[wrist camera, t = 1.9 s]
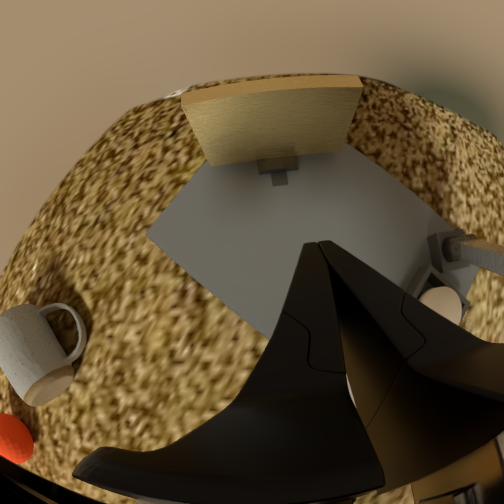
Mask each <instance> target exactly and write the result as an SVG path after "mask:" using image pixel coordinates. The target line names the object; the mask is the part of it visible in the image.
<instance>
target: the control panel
mask: <svg viewBox="0 0 504 504" xmlns="http://www.w3.org/2000/svg"><path fill="white" fill-rule="evenodd" d="M296 156H297V161H298V165H299V168H298V170H295V171H286V172H278V173H270V174H262V175H259V172H258V165H257V160H252V161H245V162H238V163H232V164H225V165H219V166H213V167H211V166H210V164H209V162H208V160H207V161H206V162H205V163H204V164H203V165H202V167H201V168H200V169H199V170H198V171H197V172H196V173H195V174H194V176H193V177H192V178H191V179H190V180H189V181H188V183H187V184H186V185H185V186H184V187H183V188H182V190H181V191H180V192H179V193H178V194H177V195H176V197H175V198H174V199H173V200H172V201H171V203H170V204H169V205H168V206H167V208H166V209H165V210H164V211H163V212H162V214H161V215H160V216H159V217H158V219H157V220H156V221H155V223H154V224H153V225H152V226H151V228H150V229H149V230H148V232H147V233H146V234H145V235H146V236H147V237H148V238H149V239H150V240H152V241H153V242H154V243H155V244H156V245H157V246H158V247H159V248H160V249H161V250H163V251H164V252H165V253H166V254H167V255H168V256H169V257H170V258H172V259H173V260H174V261H175V262H176V263H177V264H178V265H179V266H181V267H182V268H183V269H184V270H185V271H186V272H187V273H189V274H190V275H191V276H192V277H193V278H194V279H196V280H197V281H198V282H199V283H200V284H201V285H203V286H204V287H205V288H206V289H207V290H209V291H210V292H211V293H212V294H213V295H215V296H216V297H217V298H218V299H219V300H221V301H222V302H223V303H224V304H225V305H227V306H228V307H229V308H230V309H232V310H233V311H234V312H235V313H236V314H238V315H239V316H240V317H241V318H243V319H244V320H245V321H246V322H248V323H249V324H250V325H251V326H253V327H254V328H255V329H257V330H258V331H259V332H260V333H262V334H263V335H264V336H266V337H267V338H268V339H269V340H270V338H271V336H272V334H273V331H274V329H275V327H276V324H277V321H278V319H279V316H280V313H281V311H282V308H283V305H284V302H285V299H286V296H287V293H288V290H289V287H290V284H291V281H292V278H293V275H294V272H295V268H296V265H297V262H298V259H299V256H300V253H301V250H302V246H303V244H304V243H309V242H318V241H324V240H331V241H333V242H334V243H336V244H337V245H339V246H340V247H342V248H343V249H345V250H346V251H348V252H349V253H351V254H352V255H354V256H355V257H357V258H358V259H360V260H361V261H363V262H364V263H366V264H367V265H369V266H370V267H372V268H373V269H375V270H376V271H378V272H379V273H381V274H382V275H383V276H385V277H386V278H388V279H389V280H391V281H392V282H393V283H395V284H396V285H398V286H399V287H401V288H402V289H403V290H404V291H405V292H408V293H409V294H411V295H412V296H413V297H415V298H416V299H417V298H418V296H419V295H420V294H421V293H422V292H423V291H425V290H427V289H430V288H437V287H449V288H451V289H453V290H454V291H455V292H456V293H457V295H458V296H459V298H460V301H461V306H462V315H461V320H462V318H463V316H464V314H465V312H466V310H467V308H468V306H469V304H470V302H469V301H468V300H467V299H466V298H465V297H466V295H467V293H468V291H469V289H470V287H471V284H472V282H473V280H474V278H475V275H476V273H477V270H478V268H479V267H478V266H475V265H472V264H469V263H466V262H464V261H461V260H459V261H454V262H448V261H446V259H445V258H444V255H443V252H442V244H443V241H444V239H445V238H446V237H452V236H459V235H464V232H463V229H461V230H454V229H453V228H452V227H451V226H450V225H449V224H448V223H447V222H446V221H445V220H444V219H443V218H442V217H440V216H439V215H438V214H437V213H436V212H435V211H434V210H433V209H432V208H430V207H429V206H428V205H427V204H426V203H425V202H424V201H422V200H421V199H420V198H419V197H418V196H417V195H415V194H414V193H413V192H412V191H411V190H409V189H408V188H407V187H406V186H404V185H403V184H402V183H401V182H399V181H398V180H397V179H396V178H394V177H393V176H392V175H390V174H389V173H388V172H387V171H385V170H384V169H383V168H381V167H380V166H379V165H377V164H376V163H374V162H373V161H372V160H370V159H369V158H367V157H366V156H365V155H363V154H362V153H360V152H359V151H357V150H356V149H354V148H353V147H352V146H350V145H349V144H347V143H346V142H344V144H343V146H342V149H341V152H327V153H315V154H303V155H296ZM405 292H404V293H405ZM461 320H460V322H461ZM459 324H460V323H459ZM458 326H459V325H458Z"/></svg>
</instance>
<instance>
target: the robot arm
mask: <svg viewBox="0 0 504 504" xmlns="http://www.w3.org/2000/svg"><path fill="white" fill-rule="evenodd" d="M404 292H405V291H404V290H403V289H402V288H401V287H399V286H398V285H396V284H395V283H393V282H392V281H391V280H389V279H388V278H386V277H385V276H383V275H382V274H381V273H379V272H378V271H376V270H375V269H373V268H372V267H370V266H369V265H367V264H366V263H364V262H363V261H361V260H360V259H358V258H357V257H355V256H354V255H352V254H351V253H349V252H348V251H346V250H345V249H343V248H342V247H340V246H339V245H337V244H336V243H334V242H333V241H331V240H324V241H318V242H309V243H304V244H303V246H302V250H301V253H300V256H299V259H298V262H297V265H296V268H295V272H294V275H293V278H292V281H291V284H290V287H289V290H288V293H287V296H286V299H285V302H284V305H283V308H282V311H281V313H280V316H279V319H278V321H277V324H276V327H275V329H274V331H273V334H272V336H271V338H270V340H269V342H268V344H267V346H266V348H265V350H264V352H263V354H262V355H261V357H260V359H259V360H258V362H257V364H256V366H255V367H254V369H253V371H252V372H251V374H250V376H249V377H248V379H247V381H246V382H245V384H244V386H243V387H242V389H241V390H240V392H239V394H238V395H237V396H236V398H235V399H234V400H233V401H232V402H231V403H230V404H229V405H228V406H227V407H226V408H225V409H224V410H222V411H221V412H219V413H218V414H217V415H215V416H214V417H212V418H211V419H209V420H208V421H206V422H205V423H203V424H202V425H200V426H199V427H197V428H196V429H194V430H193V431H191V432H190V433H188V434H187V435H185V436H183V437H182V438H180V439H179V440H177V441H175V442H174V443H172V444H170V445H168V446H166V447H164V448H161V449H157V450H154V451H146V452H139V451H130V450H125V449H120V448H114V447H106V446H105V447H99V448H98V449H96V450H95V451H93V452H92V453H90V454H89V455H88V456H86V457H85V458H84V459H83V460H82V461H80V462H79V464H78V465H77V466H76V467H75V469H74V471H73V473H72V476H73V477H75V478H77V479H79V480H81V481H84V482H86V483H89V484H91V485H94V486H97V487H99V488H102V489H105V490H108V491H111V492H114V493H117V494H120V495H124V496H127V497H131V498H134V499H136V501H135V504H353V503H354V502H355V501H356V497H359V496H362V495H365V494H368V493H370V492H373V491H376V490H377V493H378V495H380V494H383V493H386V492H389V491H392V490H395V489H398V488H401V487H404V486H407V485H409V484H411V487H412V492H413V497H414V503H415V504H504V343H491V342H487V341H484V340H482V339H479V338H478V337H476V336H474V335H473V334H471V333H469V332H468V331H466V330H465V329H463V328H461V327H460V326H458V325H457V324H455V323H453V322H452V321H450V320H448V319H447V318H445V317H443V316H442V315H440V314H439V313H437V312H436V311H434V310H432V309H431V308H429V307H428V306H426V305H425V304H423V303H422V302H420V301H419V300H418V299H416V298H415V297H413V296H412V295H411V294H409V293H408V292H405V293H404ZM346 374H347V376H346ZM347 378H348V381H349V384H350V388H351V391H352V395H353V398H354V402H355V405H356V407H355V405H354V402H353V400H352V398H351V395H350V392H349V388H348V383H347ZM0 504H107V503H104V502H101V501H98V500H95V499H93V498H90V497H87V496H85V495H82V494H80V493H77V492H75V491H72V490H70V489H68V488H65V487H63V486H61V485H58V484H56V483H54V482H52V481H50V480H47V479H45V478H43V477H41V476H39V475H37V474H35V473H33V472H31V471H29V470H27V469H25V468H23V467H21V466H19V465H17V464H15V463H14V462H12V461H10V460H8V459H7V458H5V457H3V456H2V455H0Z"/></svg>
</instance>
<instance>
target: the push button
mask: <svg viewBox="0 0 504 504" xmlns="http://www.w3.org/2000/svg"><path fill="white" fill-rule="evenodd" d="M417 299H418V300H419V301H420V302H422V303H423V304H425V305H426V306H428V307H429V308H431V309H432V310H434V311H436V312H437V313H439V314H440V315H442V316H443V317H445V318H447V319H448V320H450V321H452V322H453V323H455V324H457V325H459V323H460V320H461V315H462V306H461V301H460V298H459V296H458V295H457V293H456V292H455V291H454V290H453V289H451V288H449V287H437V288H430V289H427V290H425V291H423V292H422V293H421V294H420V295H419V296H418V298H417Z"/></svg>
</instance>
